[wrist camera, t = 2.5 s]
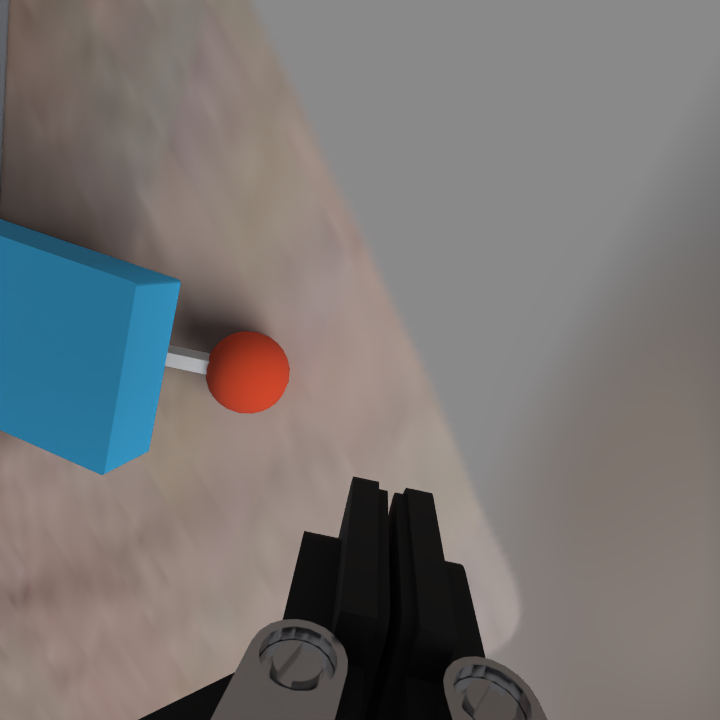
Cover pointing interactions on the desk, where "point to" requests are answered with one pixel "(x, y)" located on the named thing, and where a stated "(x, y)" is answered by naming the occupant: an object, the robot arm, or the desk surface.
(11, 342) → the lever
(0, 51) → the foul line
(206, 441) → the desk surface
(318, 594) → the robot arm
